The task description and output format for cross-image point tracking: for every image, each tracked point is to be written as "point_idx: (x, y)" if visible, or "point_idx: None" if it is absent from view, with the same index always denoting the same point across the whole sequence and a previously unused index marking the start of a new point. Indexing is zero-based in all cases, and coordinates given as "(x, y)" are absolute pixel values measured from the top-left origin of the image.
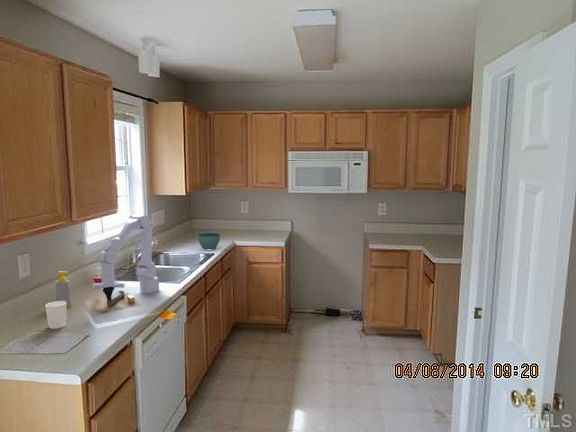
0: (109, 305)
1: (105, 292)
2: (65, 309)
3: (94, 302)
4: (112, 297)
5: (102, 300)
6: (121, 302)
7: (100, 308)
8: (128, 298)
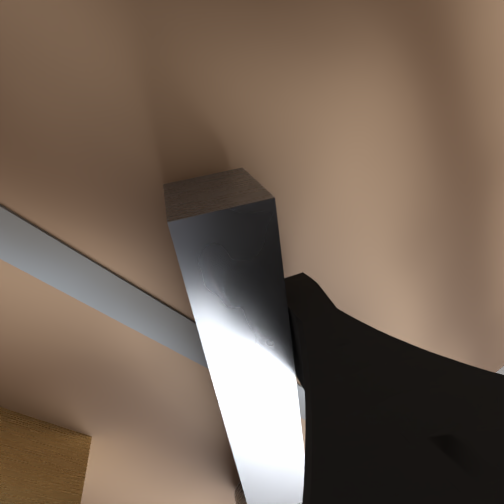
0: (198, 179)
1: (477, 401)
2: None
3: (490, 282)
4: (275, 390)
5: None
6: (146, 380)
7: (318, 70)
8: (12, 481)
